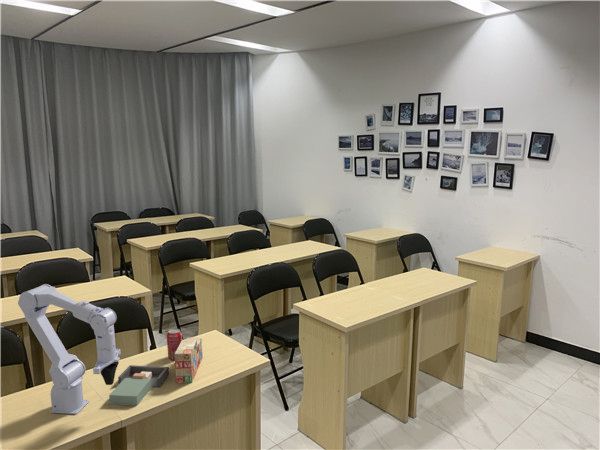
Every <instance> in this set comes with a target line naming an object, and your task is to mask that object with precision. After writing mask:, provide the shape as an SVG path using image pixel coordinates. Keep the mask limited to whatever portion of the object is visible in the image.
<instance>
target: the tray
mask: <svg viewBox="0 0 600 450" xmlns="http://www.w3.org/2000/svg"><path fill="white" fill-rule="evenodd" d="M141 372H152V377H151V387H152V388H161V386H162V385H163V384H164V382H165V381H166V380H167V378H168V377H169V376H170V367H169V366H162V365H161V366H159V365H131V364H129V365H128V367H127V368H125V370H124V371H123V372H122V373H121V374H120V375H119V376H118V377H117V378H118V385H119V384H120V383H121V382H122V381H123V380H124V379H125V378H133V375H134V374H135V373H141Z"/></svg>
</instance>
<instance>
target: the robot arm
mask: <svg viewBox="0 0 600 450" xmlns="http://www.w3.org/2000/svg"><path fill="white" fill-rule="evenodd" d="M17 305H18V307H19V308H20V310H21V312H22V313H23V315H24V319H25V320H26V322H27V324H28V325H29V327H30V329H31V330H32V332H33V334H34V335H35V338H37V340H38V342H39V344H40V346H41V347H42V349H43V350H44V351H45V352H44V353H46V355H47V357H48V358H49V360H50V361H51V365H50V368H49V371H48V372H49V374H50V377H51V381H52V384H53V385H52V387H51V390H50V402H51V410H50V413H51V414H69V415H77V414H78V413H80V411H82V409H83V408H84V407H85V406H86V405H87V404H88V403H89V402H90V400H89V399H84V392H83V381H82V380H83V376H84V375H85V373H86V366H85V364H84V363H83V361H81V360H80V359H79V358H78V357H77V355H75V354H71V353H69V352H68V351H67V349H66V348H65V346H64V344H63V343H62V340H61V339H60V338H59V336H58V333H56V331H55V329H54V328H53V326H52V324H51V322H50V321H49V319H48V318H47V316H46V312H47V310H48V308H49V306H50V305H51V306H54V307H58V308H61V309H63V310H66V311H69V312H71V313H72V316H73V317H74V318H76V319H77V320H80V321H83V322H85V323H87V324H89V325H90V327H91V329H92V330H93V332H94V336H95V341H96V354H97V359H96V362H95V364H94V365H95V366H94V367H93V369H92V370H93V371H92V372H93V375H101V376H102V379H103V381H104V383H105V385H106V386H112V385H113V384H114V381H115V376H116V371H117V368H118V366H119V361H120V360H121V358H120V357H119V356H121V355H122V352H121V349H120V348H116V336H115V335H116V334H115V327H114V326H115V325H114V324H115V323H116V322H117V319H118V316H117V313H116V312H115V311H114V309H111V308H110V307H105V308H103V307H100V306H96V305H93V304H92V303H90V301H88V300H81V301H79V302H78V301H76V300H74V299H72V298H71V297H69V296H67V295H65V294H63V293H62V292H60V291H57V288H56V287H55V286H51V285H50V284H47V283H44V284H42V285H40V286H38V287H35V288H33V289H29V290H27V291H24V292H22V293H21V294H20V295H19V298H18V301H17Z"/></svg>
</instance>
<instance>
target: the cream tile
mask: <svg viewBox="0 0 600 450" xmlns="http://www.w3.org/2000/svg"><path fill="white" fill-rule="evenodd" d="M141 373H145V374H146V379H151V377H152V372H141Z"/></svg>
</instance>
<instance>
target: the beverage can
mask: <svg viewBox="0 0 600 450" xmlns="http://www.w3.org/2000/svg"><path fill="white" fill-rule="evenodd" d="M182 340H183V333H182V331H181V329H180V328H171V329H169V330H168V331H167V334H166V342H167V343H166V344H167V346H166V347H167V358H168V359H170V360H172V361H175V352H176V350H177V349H178V347H179V345H180V343H181V341H182Z"/></svg>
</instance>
